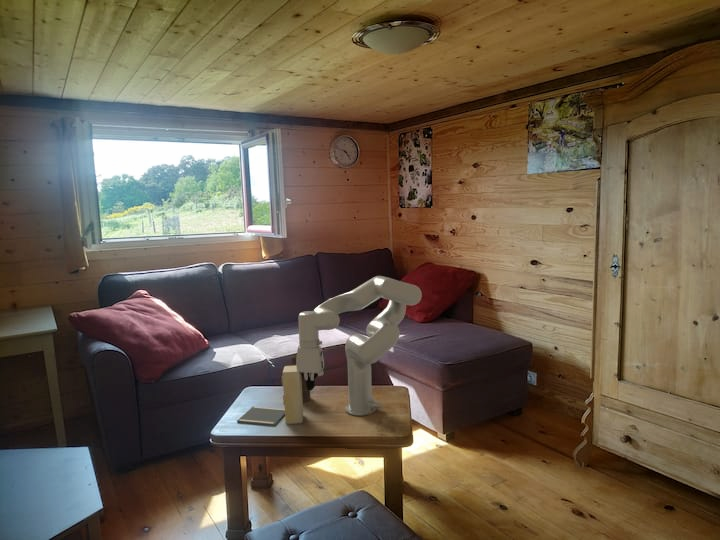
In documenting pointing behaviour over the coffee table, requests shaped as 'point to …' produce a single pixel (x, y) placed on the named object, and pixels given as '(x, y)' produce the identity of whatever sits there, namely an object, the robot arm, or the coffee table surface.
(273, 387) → the coffee table surface
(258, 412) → the mat
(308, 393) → the brown rounded cylinder
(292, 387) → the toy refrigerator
